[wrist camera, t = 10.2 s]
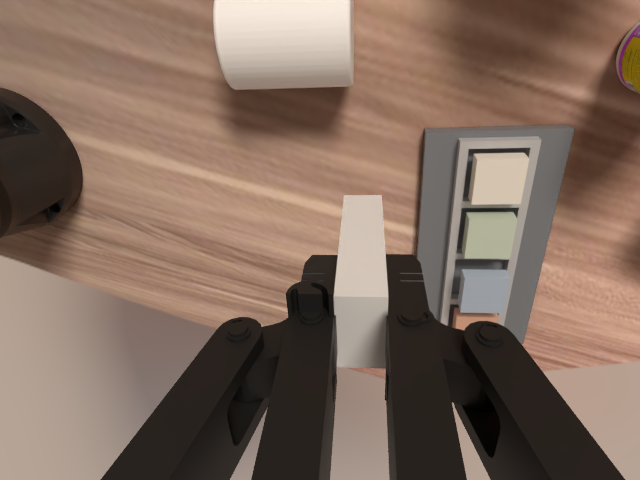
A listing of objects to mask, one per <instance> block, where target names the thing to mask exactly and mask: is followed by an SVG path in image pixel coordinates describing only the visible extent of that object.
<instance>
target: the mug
mask: <svg viewBox="0 0 640 480" xmlns="http://www.w3.org/2000/svg"><path fill="white" fill-rule="evenodd" d="M213 23H214V36H215V43H216V49H217V54H218V59H219V63H220V66H221V69H222V72H223V75H224V77H225V79H226V81H227V83H228V84H229V85H230V86H231V87H232V88H233V89H235V90H248V89H282V88H316V87H349V86H351V85H352V84H353V76H354V0H214V8H213Z"/></svg>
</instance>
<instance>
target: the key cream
mask: <svg viewBox="0 0 640 480" xmlns="http://www.w3.org/2000/svg"><path fill="white" fill-rule="evenodd" d="M528 164H529V158H528V157H527V155H526V154H525V153H478V154H474V155H473V163H472V171H471V179H470V187H469V195H468V198H469V200H470V202H471V205H487V204H521V200H522V195H523V190H524V184H525V179H526V174H527V169H528Z"/></svg>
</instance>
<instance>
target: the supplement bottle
mask: <svg viewBox="0 0 640 480" xmlns="http://www.w3.org/2000/svg"><path fill="white" fill-rule="evenodd" d="M616 69H617V74H618V76H619V78H620V80H621V82H622V83H623V84H624V85H625V86H626V87H627V88H629V89H630V90H632V91H634V92H636V93H638V94H640V21H639V22H638V23H637V24H636V25H635V26H634V27H633V28H632V29H631V30H630V31H629V32H628V33H627V35H626V36H625V38H624V39H623V41H622V43H621V45H620V47H619V50H618V53H617V57H616Z"/></svg>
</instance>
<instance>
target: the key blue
mask: <svg viewBox="0 0 640 480" xmlns="http://www.w3.org/2000/svg"><path fill="white" fill-rule="evenodd" d="M510 280H511V278H510V276H509V274H508V272H507V270H479V269H462V273H461V281H460V289H459V297H458V306H459V310H460V313H504V310H505V305H506V300H507V295H508V290H509V285H510Z"/></svg>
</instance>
